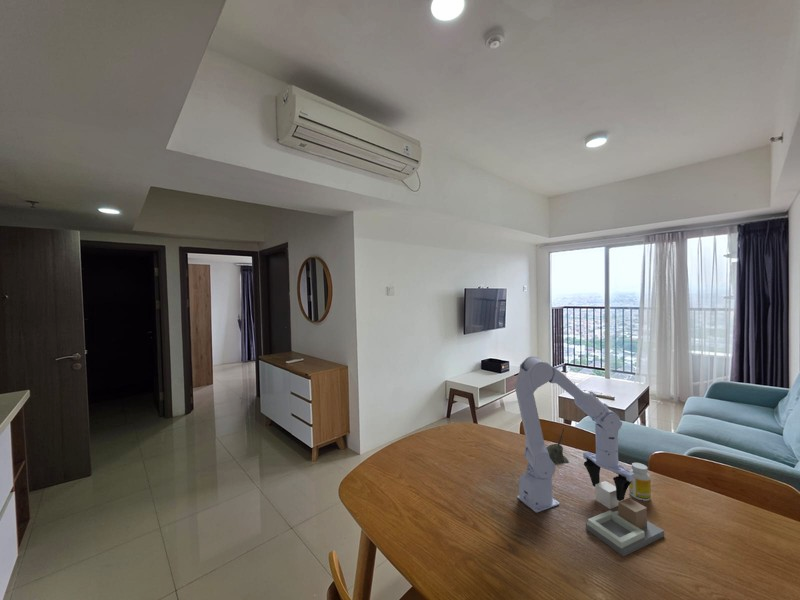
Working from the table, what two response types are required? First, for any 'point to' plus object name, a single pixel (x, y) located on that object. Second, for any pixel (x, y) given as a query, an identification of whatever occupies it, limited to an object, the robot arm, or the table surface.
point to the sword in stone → (557, 452)
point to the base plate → (625, 527)
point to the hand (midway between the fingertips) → (607, 492)
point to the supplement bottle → (640, 482)
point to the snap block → (606, 494)
